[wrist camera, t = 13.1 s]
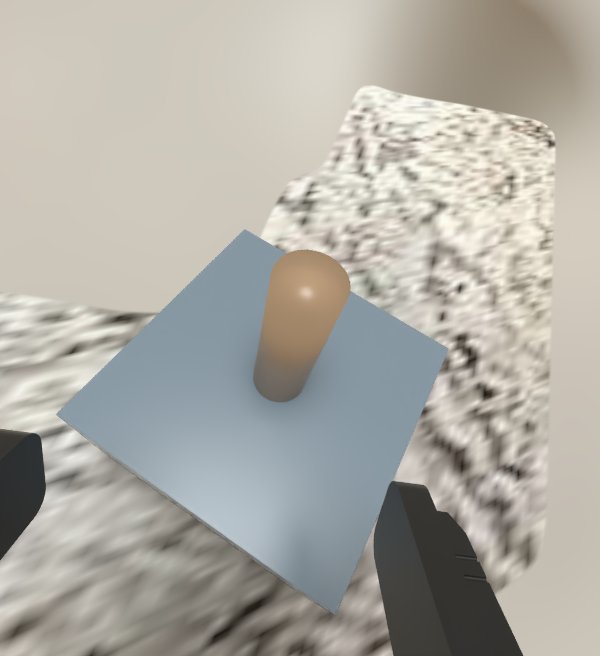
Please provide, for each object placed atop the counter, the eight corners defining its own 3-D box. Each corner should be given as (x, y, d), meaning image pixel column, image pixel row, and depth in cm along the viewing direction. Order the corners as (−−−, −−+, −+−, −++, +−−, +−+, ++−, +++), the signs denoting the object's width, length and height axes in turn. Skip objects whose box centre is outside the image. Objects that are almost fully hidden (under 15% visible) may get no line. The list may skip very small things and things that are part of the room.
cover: (103, 452, 23) (-65, 318, 10) (240, 298, 30) (253, 98, 17) (300, 594, 21) (434, 674, 8) (396, 394, 28) (552, 256, 15)
